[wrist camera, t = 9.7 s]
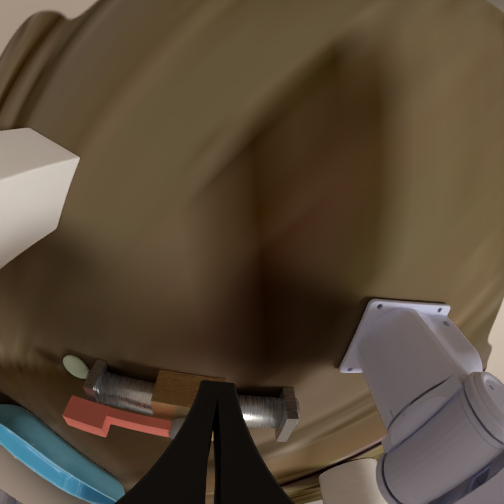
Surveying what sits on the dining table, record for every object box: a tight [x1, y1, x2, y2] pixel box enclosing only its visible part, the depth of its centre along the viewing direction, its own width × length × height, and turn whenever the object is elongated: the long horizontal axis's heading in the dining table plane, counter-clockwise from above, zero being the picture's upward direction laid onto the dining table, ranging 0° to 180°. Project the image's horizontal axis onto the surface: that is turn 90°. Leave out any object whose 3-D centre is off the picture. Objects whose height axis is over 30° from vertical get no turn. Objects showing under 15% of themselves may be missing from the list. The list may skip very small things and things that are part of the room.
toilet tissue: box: [319, 458, 388, 504], centre depth 32 cm, size 11×12×10 cm
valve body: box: [83, 359, 300, 442], centre depth 23 cm, size 20×6×4 cm, turn 81°
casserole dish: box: [0, 404, 125, 504], centre depth 31 cm, size 37×22×7 cm, turn 22°
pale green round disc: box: [63, 355, 90, 379], centre depth 23 cm, size 3×3×1 cm
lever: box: [63, 395, 186, 439], centre depth 19 cm, size 12×3×3 cm, turn 81°
